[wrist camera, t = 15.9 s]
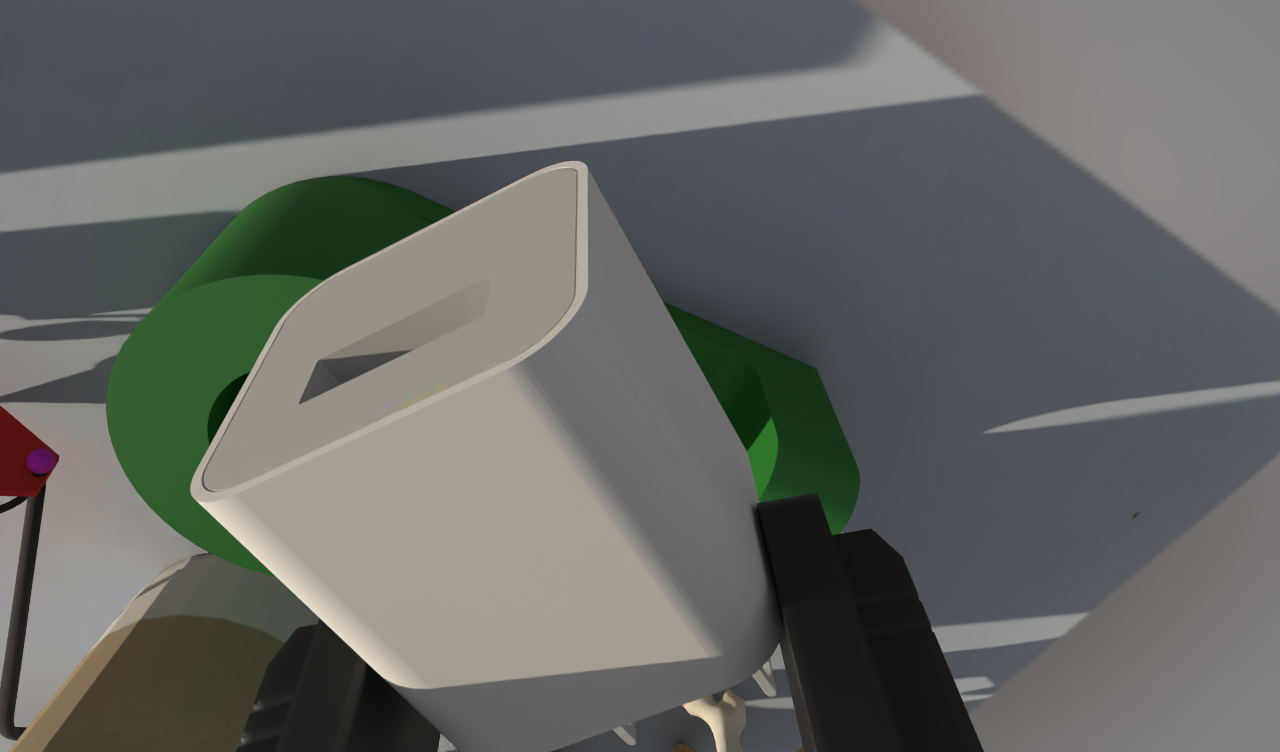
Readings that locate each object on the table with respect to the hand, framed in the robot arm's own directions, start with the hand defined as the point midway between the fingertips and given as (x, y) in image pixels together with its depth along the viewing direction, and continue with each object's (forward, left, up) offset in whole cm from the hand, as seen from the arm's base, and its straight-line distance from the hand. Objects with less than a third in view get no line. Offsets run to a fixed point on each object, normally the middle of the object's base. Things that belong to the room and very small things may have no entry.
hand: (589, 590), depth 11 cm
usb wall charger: (-1, 0, -2) cm, 2 cm away
